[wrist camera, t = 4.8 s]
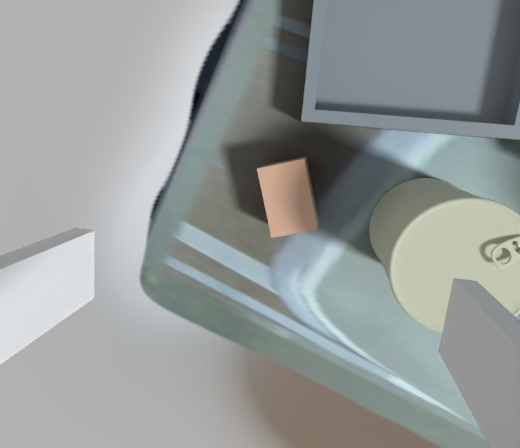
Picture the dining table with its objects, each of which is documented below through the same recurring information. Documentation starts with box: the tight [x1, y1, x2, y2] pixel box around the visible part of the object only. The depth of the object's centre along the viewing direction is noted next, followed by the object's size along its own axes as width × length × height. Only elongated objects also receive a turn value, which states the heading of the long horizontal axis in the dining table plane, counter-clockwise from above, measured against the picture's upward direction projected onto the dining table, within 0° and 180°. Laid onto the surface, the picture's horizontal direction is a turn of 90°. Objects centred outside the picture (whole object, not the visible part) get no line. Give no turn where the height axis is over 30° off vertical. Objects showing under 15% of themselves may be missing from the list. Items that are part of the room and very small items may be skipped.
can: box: [369, 178, 520, 333], centre depth 31 cm, size 9×9×12 cm
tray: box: [301, 0, 520, 140], centre depth 33 cm, size 17×13×3 cm
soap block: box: [257, 157, 319, 238], centre depth 36 cm, size 6×4×4 cm, turn 12°
